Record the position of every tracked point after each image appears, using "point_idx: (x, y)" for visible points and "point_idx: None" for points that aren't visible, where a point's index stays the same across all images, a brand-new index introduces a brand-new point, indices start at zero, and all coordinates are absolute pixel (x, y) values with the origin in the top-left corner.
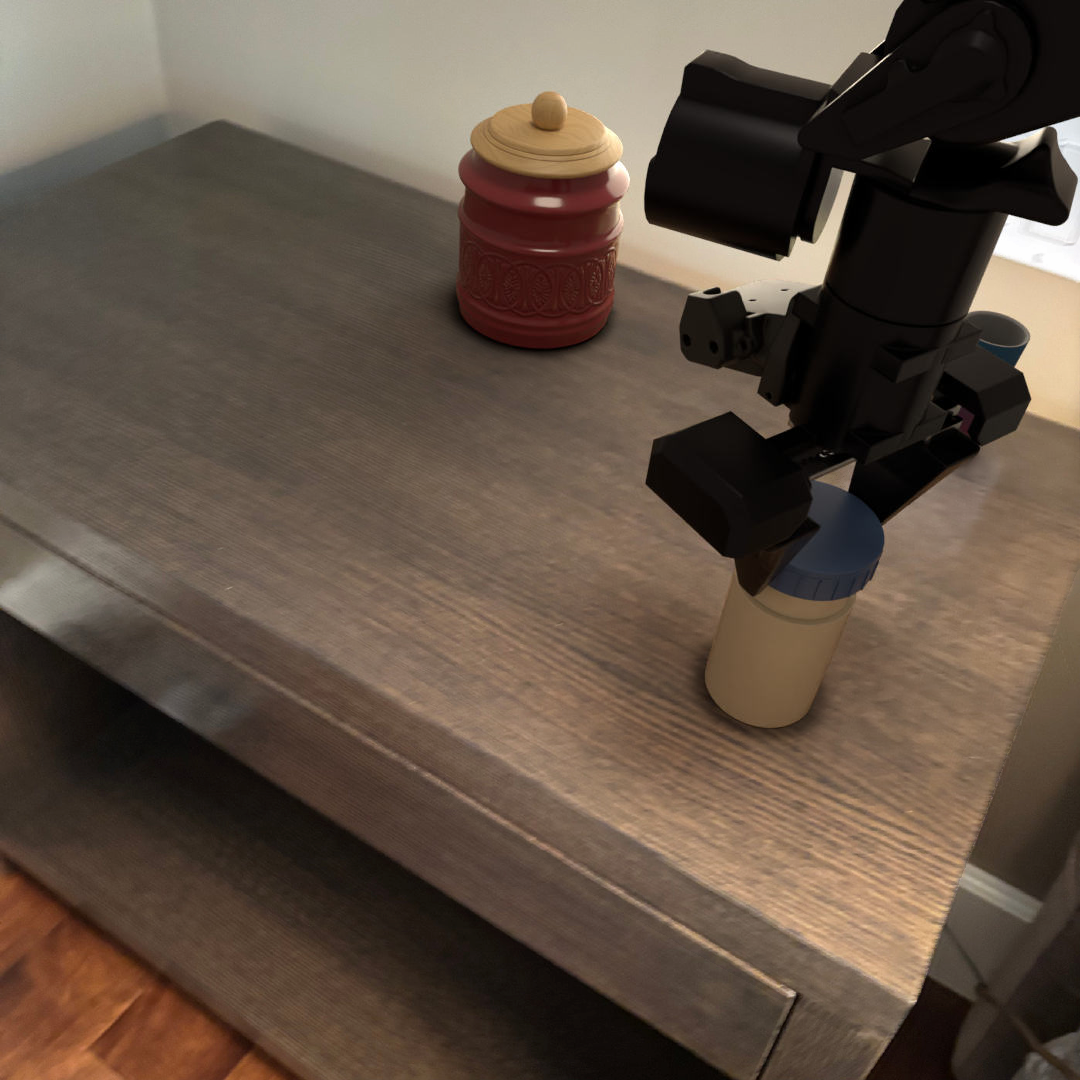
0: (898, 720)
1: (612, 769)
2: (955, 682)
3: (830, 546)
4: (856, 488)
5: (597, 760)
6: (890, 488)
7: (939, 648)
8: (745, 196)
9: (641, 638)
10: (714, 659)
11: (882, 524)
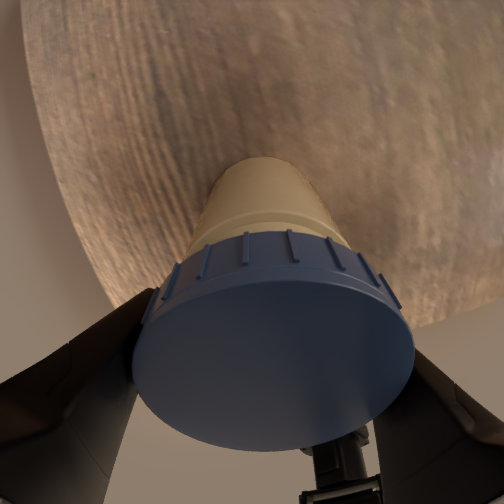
0: None
1: (93, 186)
2: None
3: (243, 427)
4: (415, 392)
5: (89, 172)
6: (398, 457)
7: (401, 286)
8: None
9: (216, 92)
10: (213, 190)
11: None
